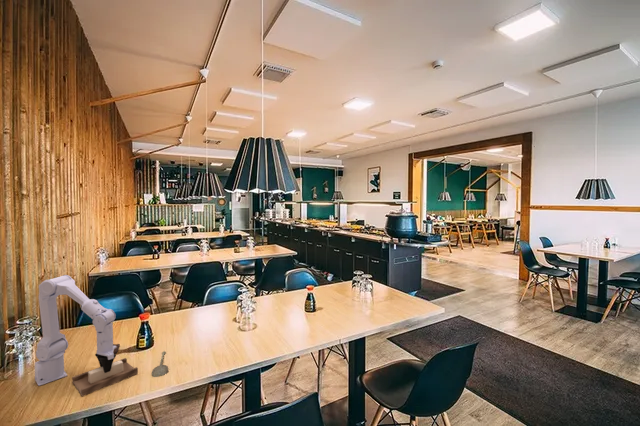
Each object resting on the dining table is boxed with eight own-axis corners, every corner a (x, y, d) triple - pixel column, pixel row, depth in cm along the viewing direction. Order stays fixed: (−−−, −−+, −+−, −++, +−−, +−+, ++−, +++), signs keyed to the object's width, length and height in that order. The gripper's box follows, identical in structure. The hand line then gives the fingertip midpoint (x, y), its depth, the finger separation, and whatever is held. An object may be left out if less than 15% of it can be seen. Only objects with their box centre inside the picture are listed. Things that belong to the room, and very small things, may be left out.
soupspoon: (150, 381, 131) (167, 378, 133) (150, 373, 131) (167, 371, 133) (156, 355, 151) (171, 353, 154) (157, 348, 151) (171, 346, 154)
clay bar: (90, 383, 125) (90, 374, 125) (88, 381, 127) (88, 371, 127) (123, 371, 135) (123, 362, 135) (120, 368, 137) (120, 360, 136)
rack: (82, 396, 119) (81, 390, 119) (72, 383, 127) (72, 377, 127) (137, 373, 134) (137, 368, 134) (125, 363, 143) (125, 357, 143)
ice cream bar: (115, 359, 148) (120, 345, 161) (115, 355, 148) (119, 342, 161) (102, 361, 145) (108, 348, 159) (102, 358, 145) (108, 345, 159)
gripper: (121, 340, 129) (122, 372, 129) (109, 331, 138) (110, 360, 138) (102, 347, 123) (103, 379, 124) (91, 337, 132) (92, 367, 133)
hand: (105, 370), depth 131 cm, fingers open, 3 cm apart
